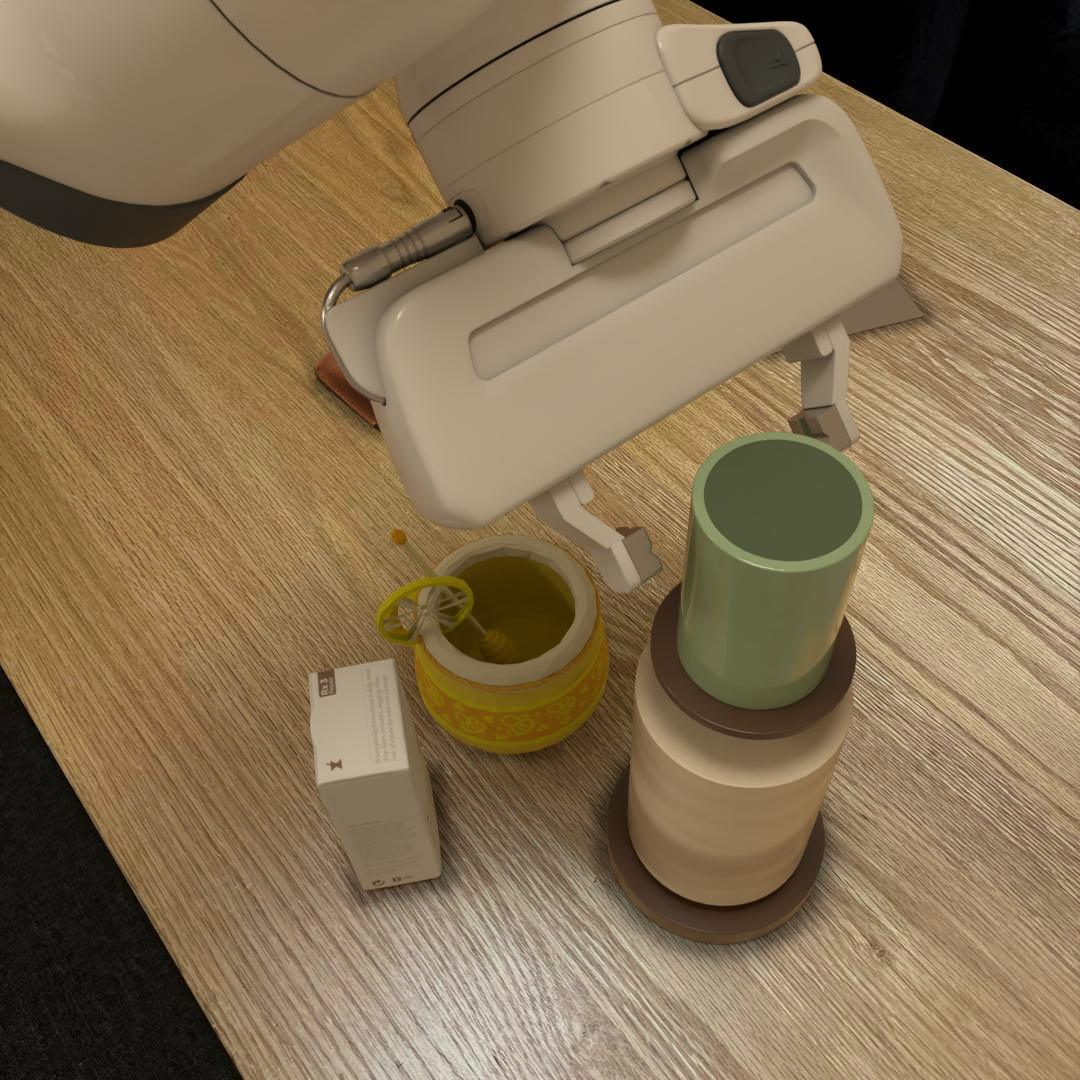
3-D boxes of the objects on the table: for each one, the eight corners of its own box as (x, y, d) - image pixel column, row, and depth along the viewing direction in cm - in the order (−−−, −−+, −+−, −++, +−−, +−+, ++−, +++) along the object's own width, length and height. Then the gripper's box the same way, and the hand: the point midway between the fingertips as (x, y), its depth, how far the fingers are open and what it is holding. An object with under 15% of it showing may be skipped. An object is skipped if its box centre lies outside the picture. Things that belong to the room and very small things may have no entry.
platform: (816, 170, 95) (829, 96, 90) (924, 316, 85) (946, 242, 79) (675, 201, 93) (680, 128, 88) (768, 354, 83) (780, 281, 78)
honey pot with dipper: (631, 624, 70) (637, 494, 60) (577, 789, 64) (575, 674, 54) (427, 574, 73) (402, 443, 63) (357, 728, 66) (318, 608, 57)
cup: (826, 722, 44) (872, 583, 37) (666, 697, 45) (681, 557, 38) (834, 591, 48) (877, 442, 41) (685, 570, 49) (702, 421, 42)
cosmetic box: (445, 878, 61) (418, 772, 51) (358, 895, 61) (314, 791, 51) (429, 770, 65) (402, 652, 55) (347, 785, 64) (305, 669, 55)
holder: (814, 963, 58) (893, 794, 43) (590, 922, 59) (590, 745, 44) (825, 760, 64) (898, 550, 49) (623, 728, 66) (634, 515, 51)
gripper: (318, 261, 33) (542, 683, 36) (844, 7, 40) (995, 378, 43) (273, 300, 39) (469, 660, 42) (739, 72, 46) (879, 394, 49)
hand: (740, 514), depth 42 cm, fingers open, 8 cm apart
